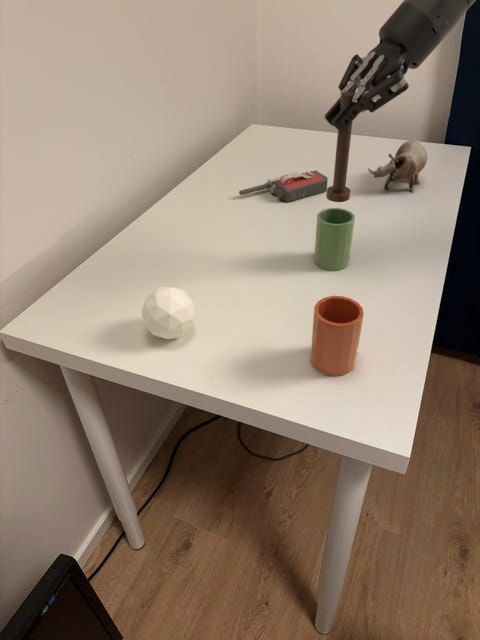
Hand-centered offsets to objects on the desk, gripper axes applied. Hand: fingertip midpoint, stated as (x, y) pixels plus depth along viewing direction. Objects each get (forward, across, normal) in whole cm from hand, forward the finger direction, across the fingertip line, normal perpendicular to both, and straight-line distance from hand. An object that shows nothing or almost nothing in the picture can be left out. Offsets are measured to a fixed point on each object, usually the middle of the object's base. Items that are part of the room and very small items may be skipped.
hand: (332, 124), depth 72 cm
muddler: (+7, 0, +10) cm, 12 cm away
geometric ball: (+38, +10, -3) cm, 39 cm away
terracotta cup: (+23, +23, +11) cm, 35 cm away
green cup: (+16, 0, +19) cm, 25 cm away
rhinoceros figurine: (-4, -23, +38) cm, 45 cm away
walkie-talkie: (+14, -29, +20) cm, 38 cm away
